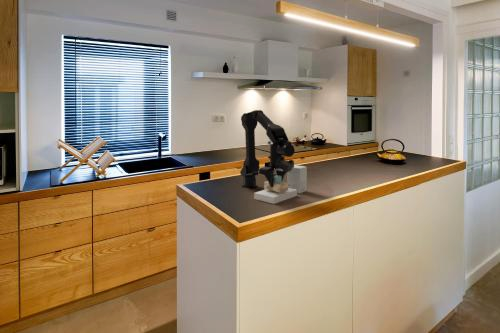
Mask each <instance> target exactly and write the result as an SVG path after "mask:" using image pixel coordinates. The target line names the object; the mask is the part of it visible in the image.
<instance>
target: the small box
mask: <svg viewBox="0 0 500 333" xmlns="http://www.w3.org/2000/svg"><path fill="white" fill-rule="evenodd" d="M307 169H308V167H307V166H304V165H303V166H302V165H298V164H294V167H293V168H292V170H291V171H289V172H287V173H286V176H287V177H286V183H288V188H291V189H296V190H297V194H302V193H305V192H307V184H308V183H307V178H308V174H307V173H308V171H307Z"/></svg>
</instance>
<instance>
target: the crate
mask: <svg viewBox="0 0 500 333" xmlns="http://www.w3.org/2000/svg"><path fill="white" fill-rule="evenodd" d="M281 182H283V181H282V176H278V175H277V174H276V175H275V177H274V183H275V184H277V183H281Z"/></svg>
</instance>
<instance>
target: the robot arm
mask: <svg viewBox="0 0 500 333" xmlns="http://www.w3.org/2000/svg"><path fill="white" fill-rule="evenodd" d="M240 120H241V126H242V128H243V129H244V131H245V132H244V134H245V154H246V155H245V159H244V160H243V166H242V168H241V169H240V176H241V177H243V179H242V180H243V181H242V182H243V184H242V185H241V187H243V188H247V189H252V188H256V187H258V184H257V178H256V176H259V175H264V176H265V178H266V181H268V183H269V185H270V187H271V188H273V183H274V177H275V175H278V176H282V182H284V181H283V180H284V178H285V176H286V175H287V172H289V171H291V170H292V168H293V167H294V165H295V161H294V160H293V159H289V160H286V159H285V157H287V158H291V157H293V156H294V154H295V147H294V145H293V144H292V141H290V140H289V137H288V135H287V133H286V130H285V129H284V127H282V126H281V125H279V124H275V123H274V122H273V121H272V120H271V119H270V118H269V117H268V116H267V115H266V114H265V113H264V111H263V110H261V109H255V110H252V111H250V112H245V113H243V114H242V115H241V116H240ZM258 123H259V125H260V126H261V127H263V129H264V131H266V132H265V134H266V136H267V137H268V139H269V140H268V142H267V144H268V145H269V147H270V148H269V155H268V159H269V164H268V165H267V166H263V167H260V160H258V159H257V158H256V140H255V137H256V135H255V132H256V131H255V130H256V128H257V127H258Z"/></svg>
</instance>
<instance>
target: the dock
mask: <svg viewBox="0 0 500 333" xmlns="http://www.w3.org/2000/svg"><path fill="white" fill-rule="evenodd" d="M294 197H298V193H297V190H296V189H291V188H288V190H287V191H284V192H281V193H280V192H276V191H271V190H267V189H262V190H259V191H256V192H253V199H254V200H256V201H261V202H265V203H268V204H273V205H274V204H278V203H281V202H283V201H286V200H288V199H289V200H290V199H292V198H294Z"/></svg>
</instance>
